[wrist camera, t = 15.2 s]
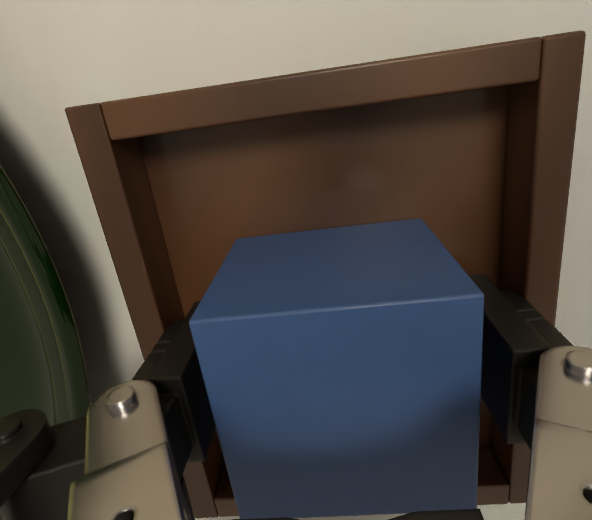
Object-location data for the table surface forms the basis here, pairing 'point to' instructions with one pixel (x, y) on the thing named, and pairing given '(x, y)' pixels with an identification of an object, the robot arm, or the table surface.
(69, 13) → the table surface
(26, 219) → the plate
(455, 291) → the cube
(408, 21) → the table surface
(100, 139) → the tray
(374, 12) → the table surface
